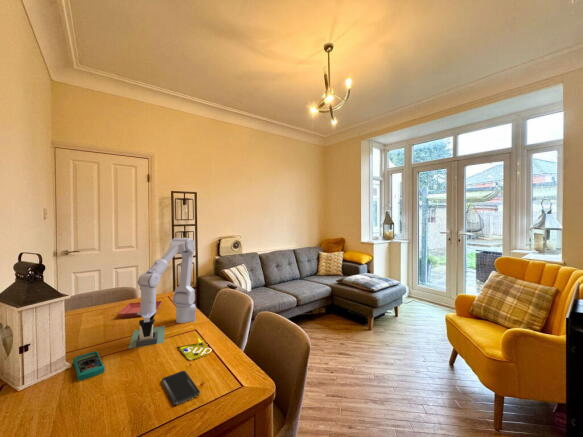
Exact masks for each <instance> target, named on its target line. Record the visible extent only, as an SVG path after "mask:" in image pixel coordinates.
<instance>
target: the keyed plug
mask: <svg viewBox="0 0 583 437" xmlns="http://www.w3.org/2000/svg"><path fill="white" fill-rule="evenodd" d="M153 328H154V324H153V325H152V328H151V333H150V336H149V337H144V335H143V331H142V328H141V326H139V330H140V336H139V339H140V340H146V339H152V338H153Z"/></svg>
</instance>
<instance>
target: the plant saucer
mask: <svg viewBox="0 0 583 437" xmlns="http://www.w3.org/2000/svg"><path fill="white" fill-rule="evenodd" d="M162 302H163V301H162V300H156V312H157V311H158V309H159V308H160V306H161V304H162ZM140 311H141V301H140V302H130V303H127V305H126V306H125V307H124V308H123V309H121V310H120V311H119V313H118V315H119V316H120V317H121V318H123V319H124V318H127V319H128V318H135V317H138V318H139V317H142V316H141V315H137V312H140Z"/></svg>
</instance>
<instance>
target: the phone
mask: <svg viewBox="0 0 583 437" xmlns="http://www.w3.org/2000/svg"><path fill="white" fill-rule="evenodd" d="M161 385H162V387H163V388H164V390H165V392H166V394H167V396H168V397H169V398H168V399H169V400H170V402H171V404H172V406H173V405H175V406H174V407H177V406H176V405H178V406H180V405H182V404H181V403H183V402H185V401H187V402H189V401H191V400H190V399H192V398H194V399H195V397H196V396H198V395H199V394H200V392H201V391H200V390H199V388H198V387H197V386H196V384H195V382H194V381H193V380H192V378H191V376H189V374H188V373H187V370H182V371H179V372H176V373H173V374H170V375H167V376H165V377H162V379H161ZM199 396H200V395H199ZM199 396H198V397H199ZM196 398H197V397H196ZM188 400H189V401H188ZM192 400H193V399H192ZM185 403H186V402H185ZM179 404H180V405H179ZM183 404H184V403H183Z"/></svg>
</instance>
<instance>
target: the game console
mask: <svg viewBox="0 0 583 437" xmlns="http://www.w3.org/2000/svg"><path fill="white" fill-rule="evenodd" d="M201 338H202V337H201V336H200V335H198V336H197V343H192V344H186V345H180V346H176V349H177V348H178V349H179V350H180V351H181V352H182V353H183V354H184V355H185V356H184V355H183V354H182V353H181V352H180V351H179V350H178V349H177V350H178V351H179V352H180V353H181V354H182V355H183V356H184V357H185V359H186V358H187V359H188V360H193V361H195V360H194V359H196V360H198V359H197V358H199V357H202V356H204V355H207V354H208V353H210V352H211V351H212V349H211V348H205V347H207V345H208V344H209V343H208V344H205V342H206V341H205V340H204V339H203V338H202V339H203V340H202V339H201ZM201 340H202V341H201ZM203 341H205V342H203ZM202 342H203V343H202ZM203 346H205V347H203ZM207 349H210V351H209V350H207ZM202 351H203V352H202ZM208 351H209V352H208ZM206 352H207V353H206ZM212 352H213V351H212ZM207 356H208V355H207ZM204 357H205V356H204ZM202 358H203V357H202ZM187 359H186V360H187ZM199 359H200V358H199ZM188 360H187V361H188Z"/></svg>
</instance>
